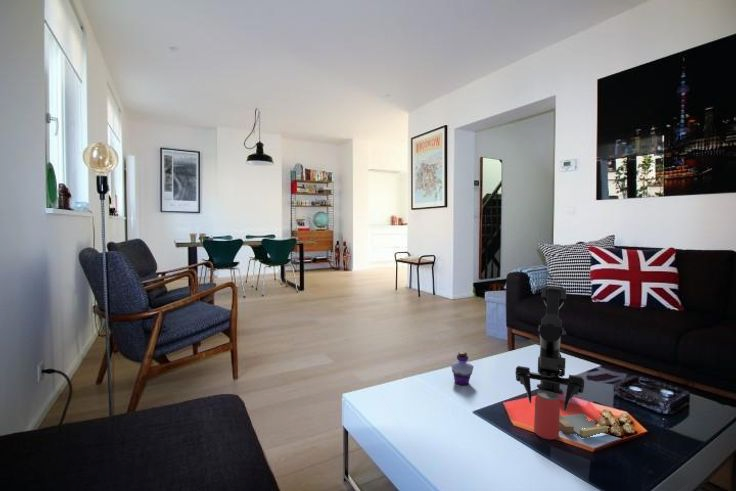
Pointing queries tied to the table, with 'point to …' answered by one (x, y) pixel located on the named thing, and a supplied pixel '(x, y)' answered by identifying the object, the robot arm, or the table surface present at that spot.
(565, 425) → the walnut rail
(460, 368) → the potion bottle
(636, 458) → the table surface
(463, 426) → the table surface
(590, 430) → the grey flat slab
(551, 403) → the beer can
